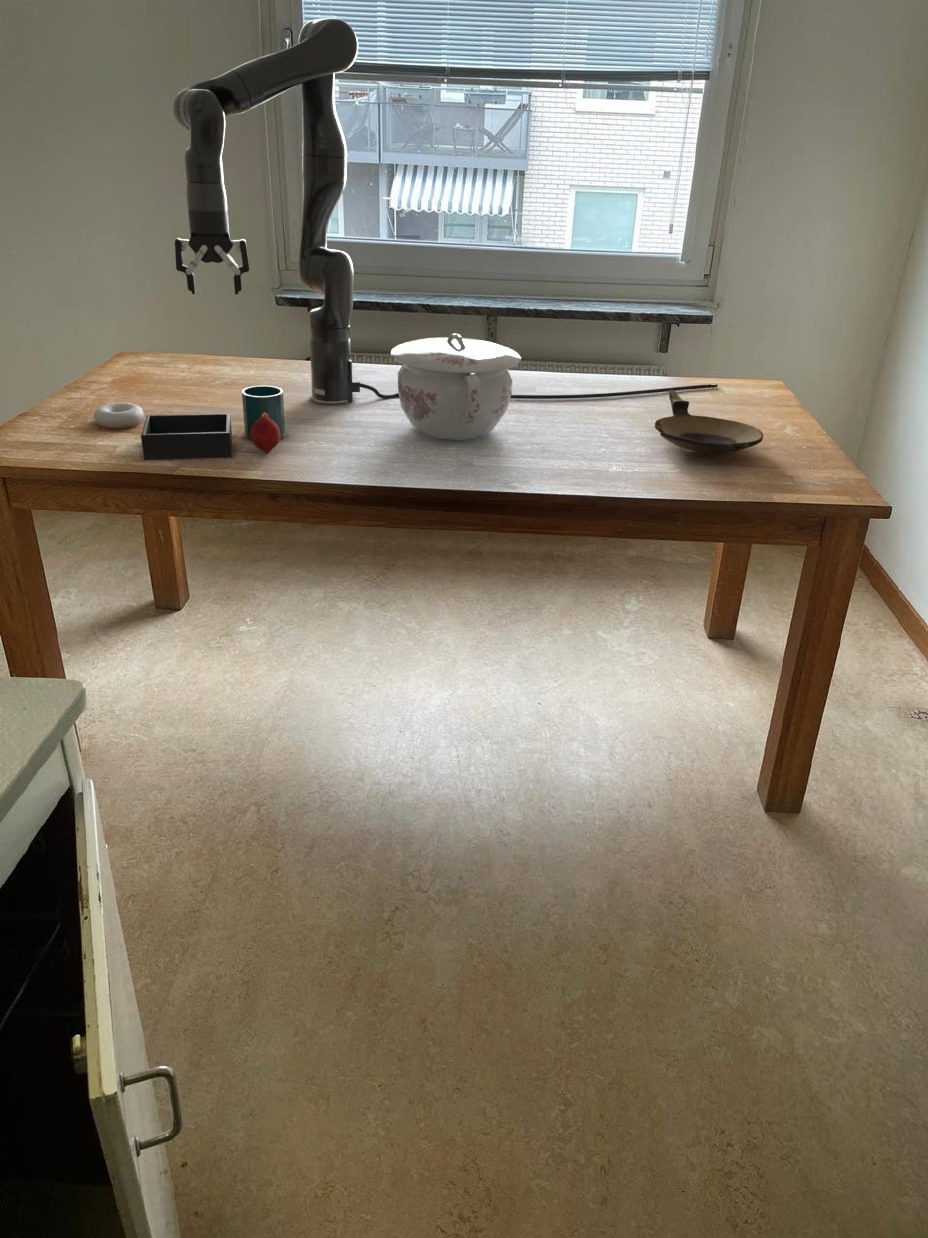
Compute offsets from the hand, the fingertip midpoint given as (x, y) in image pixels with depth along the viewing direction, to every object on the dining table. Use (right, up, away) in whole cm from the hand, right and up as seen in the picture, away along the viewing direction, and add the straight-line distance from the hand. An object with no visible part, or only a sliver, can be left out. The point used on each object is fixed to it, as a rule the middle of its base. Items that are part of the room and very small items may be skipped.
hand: (215, 293), depth 183 cm
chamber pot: (+48, -26, +12) cm, 56 cm away
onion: (+11, -34, -4) cm, 36 cm away
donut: (-22, -25, +7) cm, 34 cm away
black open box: (-4, -32, -4) cm, 33 cm away
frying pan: (+103, -29, +11) cm, 108 cm away
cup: (+9, -28, +4) cm, 30 cm away
